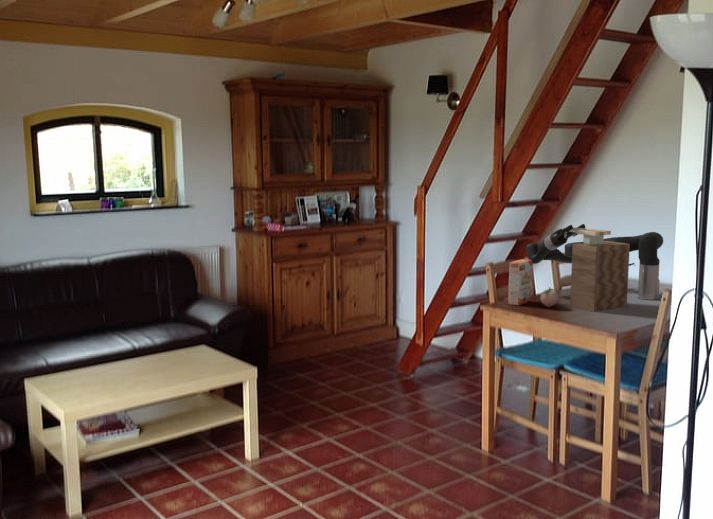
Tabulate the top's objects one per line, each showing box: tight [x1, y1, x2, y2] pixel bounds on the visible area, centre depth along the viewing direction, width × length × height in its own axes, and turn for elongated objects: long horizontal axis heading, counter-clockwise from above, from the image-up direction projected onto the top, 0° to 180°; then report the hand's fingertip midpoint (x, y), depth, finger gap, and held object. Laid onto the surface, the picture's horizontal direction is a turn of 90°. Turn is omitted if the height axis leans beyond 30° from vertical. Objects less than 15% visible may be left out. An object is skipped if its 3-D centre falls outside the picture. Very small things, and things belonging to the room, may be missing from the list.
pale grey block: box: [582, 235, 605, 246], centre depth 340 cm, size 9×9×5 cm
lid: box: [569, 226, 612, 236], centre depth 344 cm, size 10×22×2 cm, turn 31°
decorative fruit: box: [539, 286, 560, 309], centre depth 344 cm, size 9×8×10 cm
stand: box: [569, 241, 630, 313], centre depth 345 cm, size 23×14×30 cm, turn 121°
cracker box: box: [507, 258, 533, 307], centre depth 354 cm, size 14×6×21 cm, turn 143°
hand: (578, 226), depth 347 cm, fingers open, 8 cm apart
